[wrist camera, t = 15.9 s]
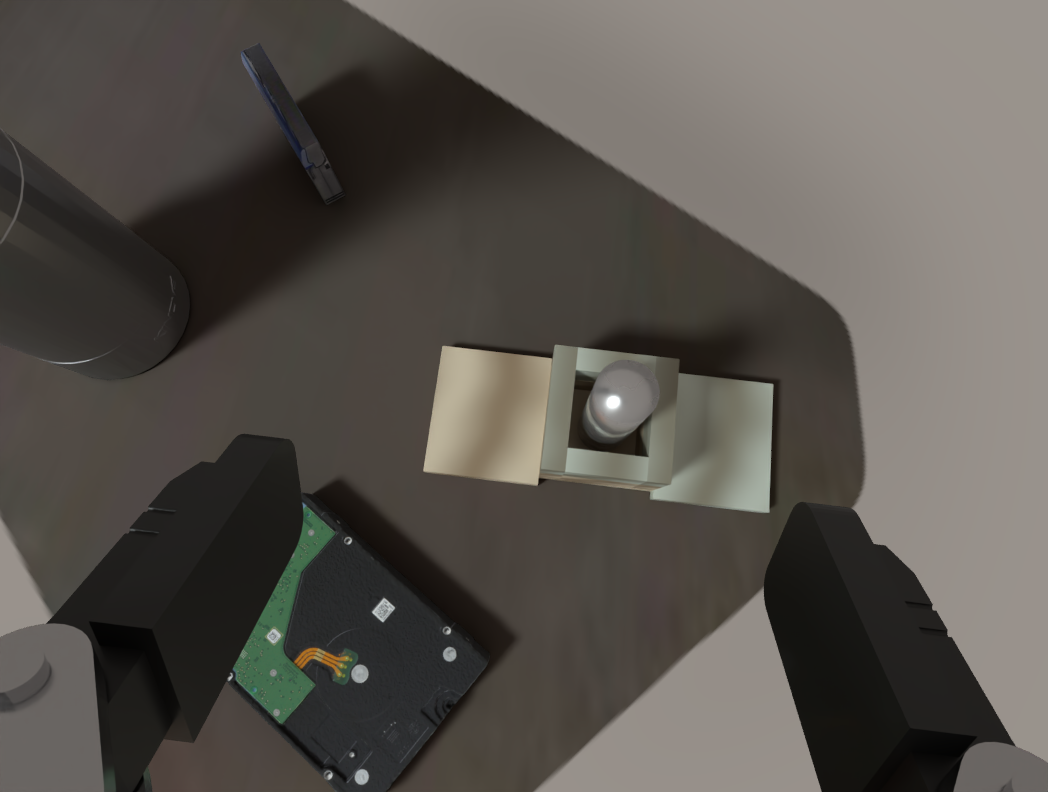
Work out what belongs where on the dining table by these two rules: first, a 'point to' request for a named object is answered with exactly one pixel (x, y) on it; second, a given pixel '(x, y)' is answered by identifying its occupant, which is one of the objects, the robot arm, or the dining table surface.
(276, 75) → the mini dv tape
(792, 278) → the dining table surface
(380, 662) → the disk drive
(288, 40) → the dining table surface
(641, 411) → the hinge pin
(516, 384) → the hinge leaves
